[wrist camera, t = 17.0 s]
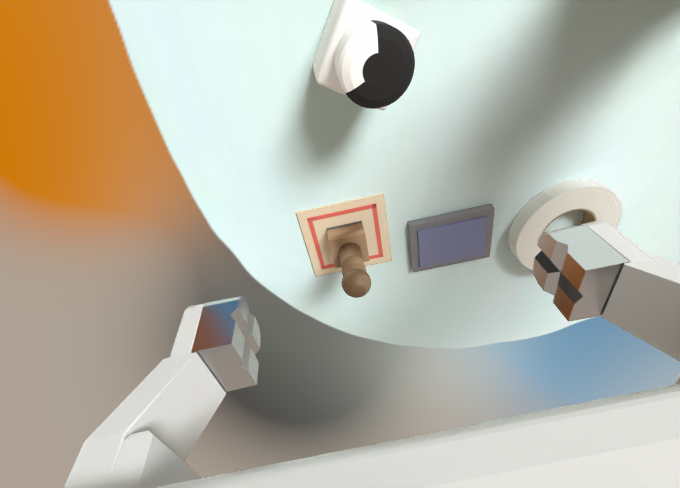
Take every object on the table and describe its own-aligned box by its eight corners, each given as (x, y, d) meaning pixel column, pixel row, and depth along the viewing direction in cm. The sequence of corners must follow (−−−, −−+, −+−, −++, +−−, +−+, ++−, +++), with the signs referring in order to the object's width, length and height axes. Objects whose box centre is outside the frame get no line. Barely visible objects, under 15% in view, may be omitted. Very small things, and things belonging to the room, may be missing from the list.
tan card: (383, 193, 48) (383, 194, 47) (391, 259, 55) (391, 260, 55) (296, 211, 48) (296, 213, 48) (315, 275, 55) (315, 276, 55)
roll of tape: (525, 180, 49) (536, 190, 47) (627, 174, 51) (643, 184, 48) (495, 264, 59) (503, 276, 56) (582, 258, 60) (593, 269, 58)
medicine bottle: (402, 23, 36) (442, 41, 26) (371, 92, 40) (396, 130, 30) (337, -11, 34) (355, -4, 24) (311, 66, 37) (318, 98, 28)
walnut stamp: (361, 220, 50) (376, 274, 41) (366, 247, 53) (381, 302, 44) (326, 228, 50) (334, 282, 41) (333, 254, 53) (341, 311, 44)
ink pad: (490, 204, 51) (495, 209, 49) (486, 251, 56) (490, 257, 55) (408, 221, 51) (410, 227, 50) (411, 267, 56) (413, 273, 55)
